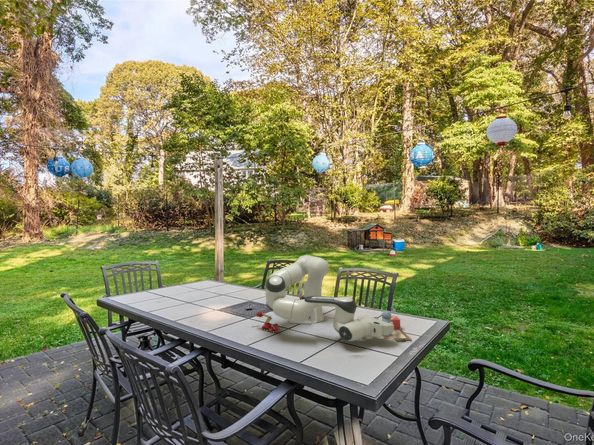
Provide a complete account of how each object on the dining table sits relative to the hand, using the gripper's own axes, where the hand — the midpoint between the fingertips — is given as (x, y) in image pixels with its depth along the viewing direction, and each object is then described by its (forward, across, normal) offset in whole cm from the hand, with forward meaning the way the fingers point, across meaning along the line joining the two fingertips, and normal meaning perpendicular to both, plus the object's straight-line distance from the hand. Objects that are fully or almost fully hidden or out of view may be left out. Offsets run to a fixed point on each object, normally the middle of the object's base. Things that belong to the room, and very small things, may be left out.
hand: (384, 320), depth 176 cm
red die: (+15, -6, -9) cm, 19 cm away
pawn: (+2, 0, -8) cm, 8 cm away
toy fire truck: (-43, -47, -10) cm, 64 cm away
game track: (-3, -4, -9) cm, 10 cm away
